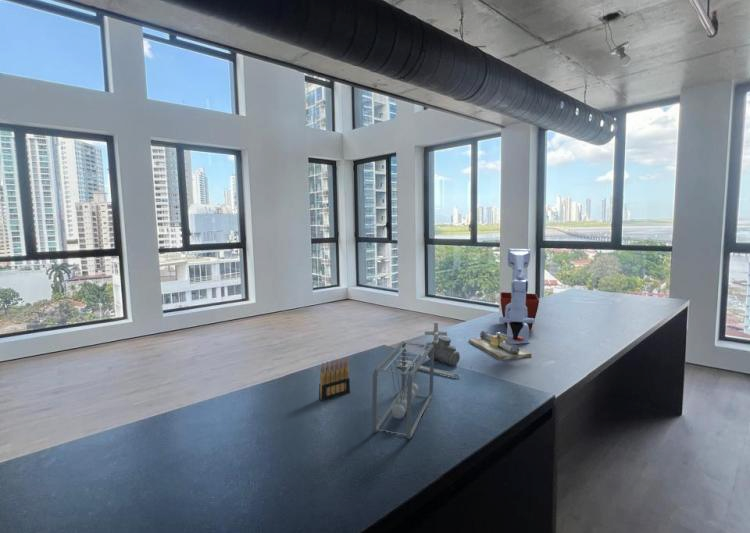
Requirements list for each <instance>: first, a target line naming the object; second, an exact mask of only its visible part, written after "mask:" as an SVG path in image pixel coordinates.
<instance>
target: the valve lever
mask: <svg viewBox="0 0 750 533" xmlns="http://www.w3.org/2000/svg"><path fill="white" fill-rule="evenodd" d="M495 335H501V336H503V337H505V338H507V337H508V338H512V340H514V339H513V336H511V335H507V333H503V332H500V331H496V332H495ZM516 341H519V342H522V341H524V338H523V337H519V336H518V337H517V340H516Z"/></svg>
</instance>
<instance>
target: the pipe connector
mask: <svg viewBox="0 0 750 533" xmlns="http://www.w3.org/2000/svg"><path fill="white" fill-rule="evenodd" d="M424 335H425V336H426V335H427V336H433V341H435V340H438V338H439V336H444V337H448V332H447V331H443V330H442V331H439V322H438V321H434V322H433V330H425V331H424ZM438 341H439V340H438Z"/></svg>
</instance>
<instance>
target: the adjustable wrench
mask: <svg viewBox="0 0 750 533" xmlns="http://www.w3.org/2000/svg"><path fill="white" fill-rule="evenodd" d="M399 360H400V359H399ZM411 362H413V360H412V361H411V360H410V359H409V360H408V362H407V359H406V362H405V366H406V367H405V370H406V369H407V368H408V365H409V366H410V364H411ZM415 364H416V362H414V366H413V364H412V366H411V369H410V368H409V370H412V368H414V367H415ZM397 365H399V367H398V368H400V366H401V369H402V359H401V360H400V364H399V362H398V364H397ZM418 369H419V370H418V371H420V370H424V371H429V372H430V366H426V365H422V364H421V365H420V367H419V368H418ZM424 371H423V372H424ZM434 373H438V374H442V375H446V376H450V377H454V378H459V377H460V374H459V373H455V372H450V371H446V370H442V369H438V368H434ZM459 379H460V378H459Z"/></svg>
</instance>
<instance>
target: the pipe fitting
mask: <svg viewBox="0 0 750 533" xmlns="http://www.w3.org/2000/svg"><path fill="white" fill-rule="evenodd" d="M451 343H452V338H449V337H448V336H444V335H439V336H438V340H435V341H434V340H433V341H432V342H430V344H429V345H431V344H433V345H434V361H437V360H439V361H441V362H443V363H445V364H447V365H449V366H451V367H455V366H456V365H458V363H459V362H460V358H461V354H460V353H459V351H457V349H456V347H455V346H453V345H451ZM430 353H431V351H430V352H429V354H428V355H427V357H428V358H429V359H430Z"/></svg>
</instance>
